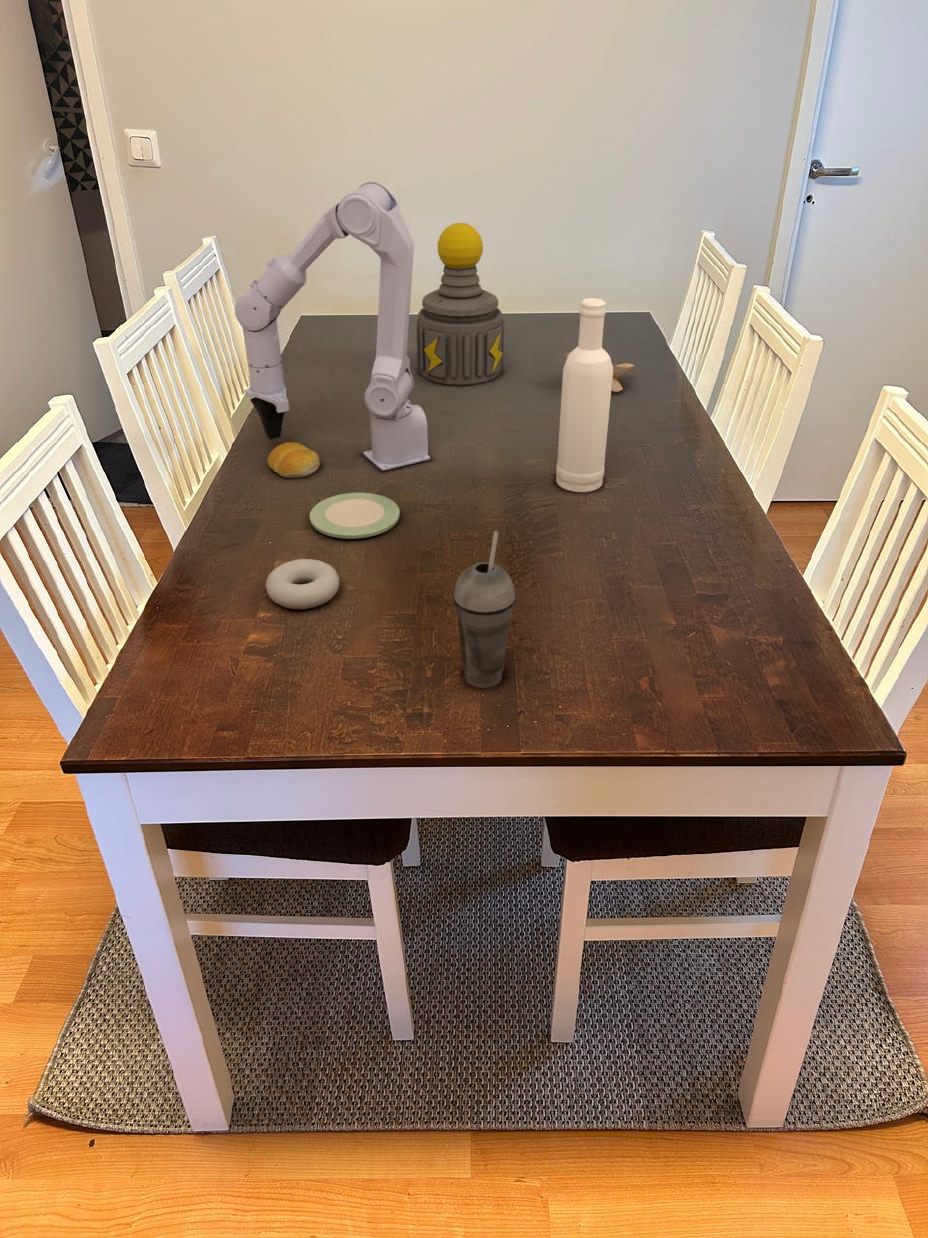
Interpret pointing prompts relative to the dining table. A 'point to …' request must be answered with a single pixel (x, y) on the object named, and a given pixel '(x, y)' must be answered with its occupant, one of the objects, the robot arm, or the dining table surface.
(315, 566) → the donut
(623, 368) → the decorative flower
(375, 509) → the plate
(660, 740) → the dining table surface
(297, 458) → the bread roll
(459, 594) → the beverage cup
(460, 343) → the decorative lamp
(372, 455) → the robot arm
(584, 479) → the bottle
